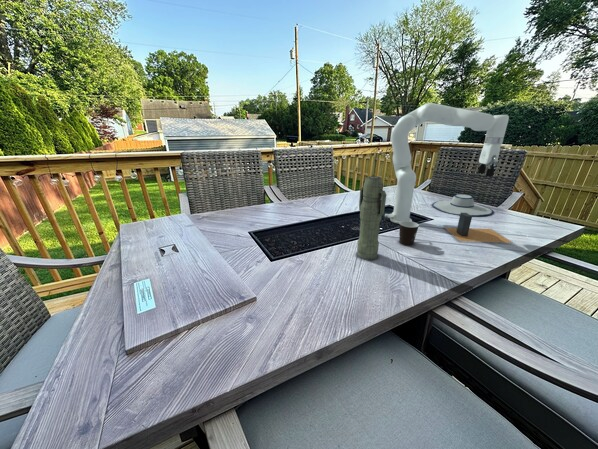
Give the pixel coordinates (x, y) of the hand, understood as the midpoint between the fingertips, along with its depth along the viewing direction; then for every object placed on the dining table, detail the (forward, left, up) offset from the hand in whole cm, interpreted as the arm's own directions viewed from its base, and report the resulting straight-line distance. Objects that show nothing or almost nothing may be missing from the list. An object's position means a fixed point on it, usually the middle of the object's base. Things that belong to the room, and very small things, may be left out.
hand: (484, 174), depth 132 cm
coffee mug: (-43, -27, -29) cm, 59 cm away
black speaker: (-13, -15, -29) cm, 35 cm away
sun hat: (+9, +35, -29) cm, 46 cm away
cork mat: (-6, -15, -29) cm, 33 cm away
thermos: (-65, -43, -29) cm, 83 cm away
